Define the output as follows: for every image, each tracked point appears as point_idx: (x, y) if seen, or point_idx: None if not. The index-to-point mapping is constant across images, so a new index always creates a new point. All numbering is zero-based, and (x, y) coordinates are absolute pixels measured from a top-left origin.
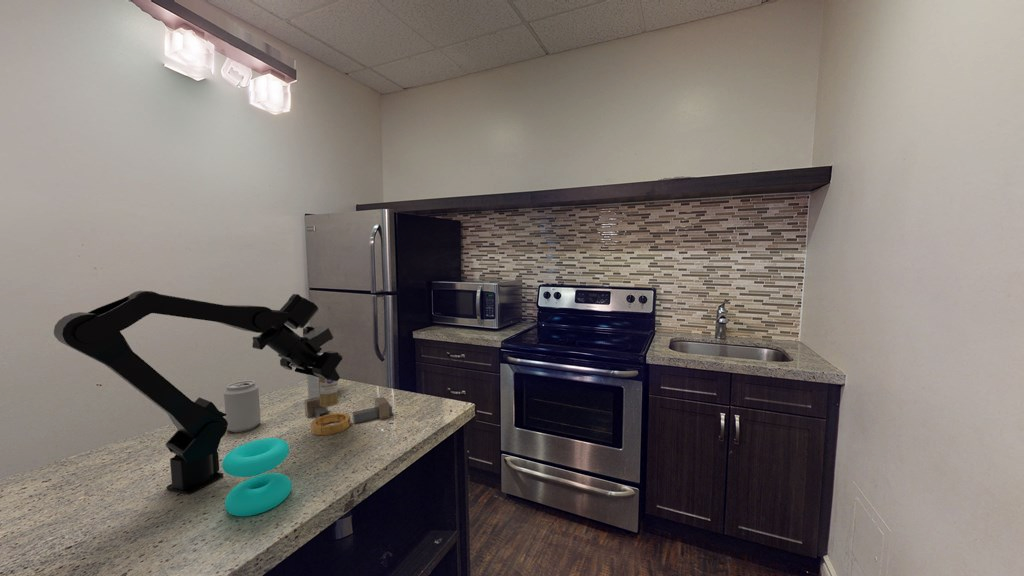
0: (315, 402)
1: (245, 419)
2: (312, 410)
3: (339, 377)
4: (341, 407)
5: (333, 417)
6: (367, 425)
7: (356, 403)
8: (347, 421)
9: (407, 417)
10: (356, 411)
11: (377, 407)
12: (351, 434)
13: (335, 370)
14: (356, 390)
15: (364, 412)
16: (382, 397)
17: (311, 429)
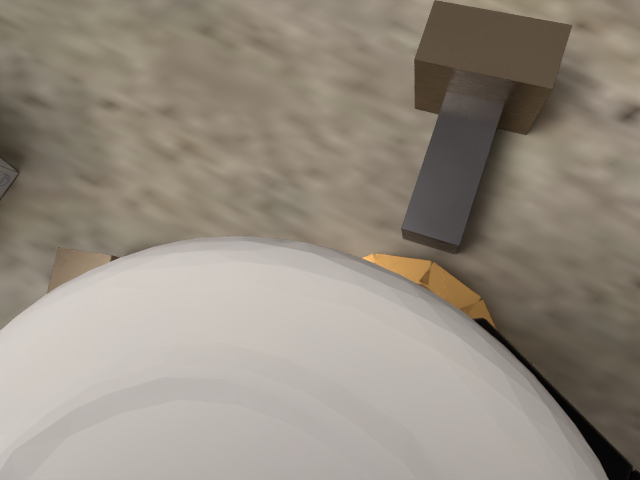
0: None
1: None
2: None
3: (490, 327)
4: (164, 184)
5: None
6: (542, 218)
7: (180, 104)
8: (486, 307)
9: (629, 12)
10: (412, 206)
11: (493, 96)
12: (592, 343)
13: (620, 457)
14: (10, 18)
15: (473, 181)
16: (440, 12)
17: None
